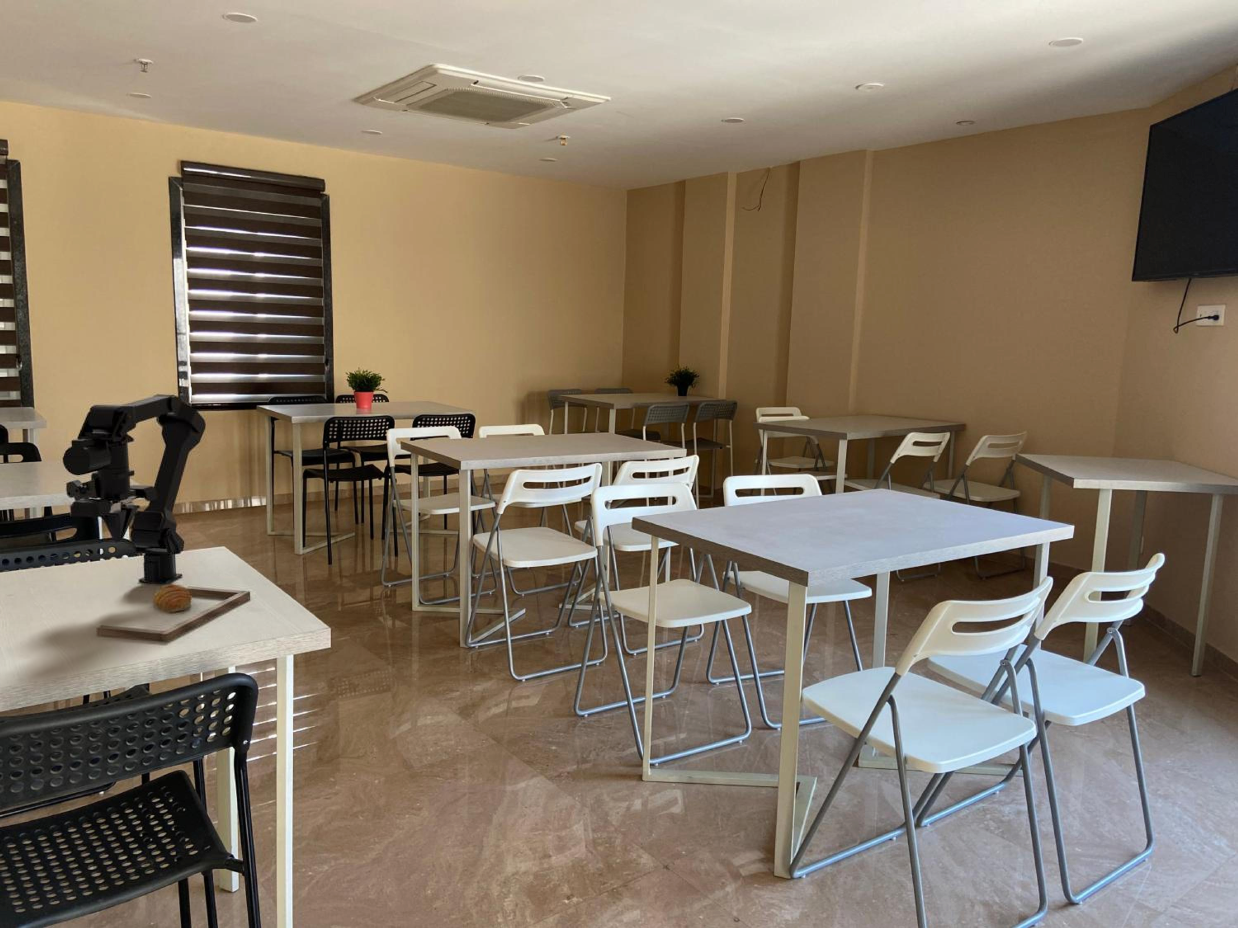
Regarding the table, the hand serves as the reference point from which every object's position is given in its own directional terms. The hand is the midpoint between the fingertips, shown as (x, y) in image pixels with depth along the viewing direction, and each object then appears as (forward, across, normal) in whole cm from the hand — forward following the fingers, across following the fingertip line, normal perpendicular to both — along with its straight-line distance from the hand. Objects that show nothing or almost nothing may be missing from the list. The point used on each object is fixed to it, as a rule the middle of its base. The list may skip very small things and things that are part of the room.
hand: (118, 541), depth 184 cm
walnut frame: (+12, +8, +18) cm, 23 cm away
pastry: (+12, +3, +14) cm, 19 cm away
